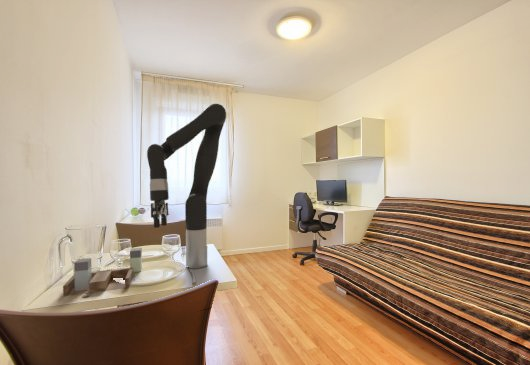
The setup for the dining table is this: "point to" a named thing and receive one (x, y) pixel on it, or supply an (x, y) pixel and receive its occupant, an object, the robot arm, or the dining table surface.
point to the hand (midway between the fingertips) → (160, 226)
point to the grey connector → (82, 274)
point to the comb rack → (101, 281)
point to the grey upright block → (136, 259)
